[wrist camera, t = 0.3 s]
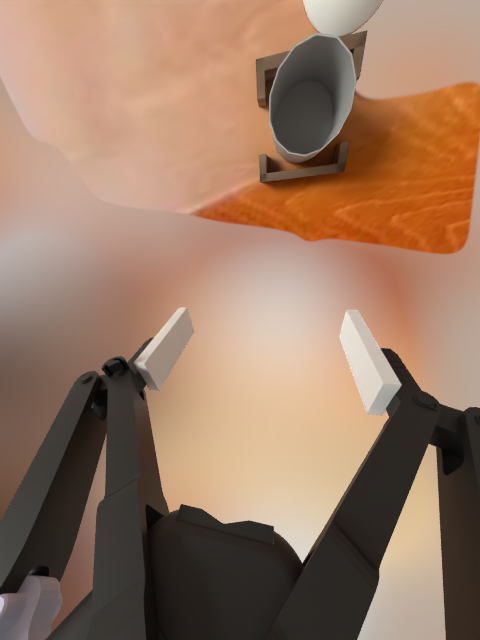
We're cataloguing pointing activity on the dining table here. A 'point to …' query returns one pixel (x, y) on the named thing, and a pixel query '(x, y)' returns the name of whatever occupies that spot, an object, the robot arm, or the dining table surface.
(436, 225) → the dining table surface
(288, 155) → the cup
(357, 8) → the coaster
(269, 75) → the pocket holder
